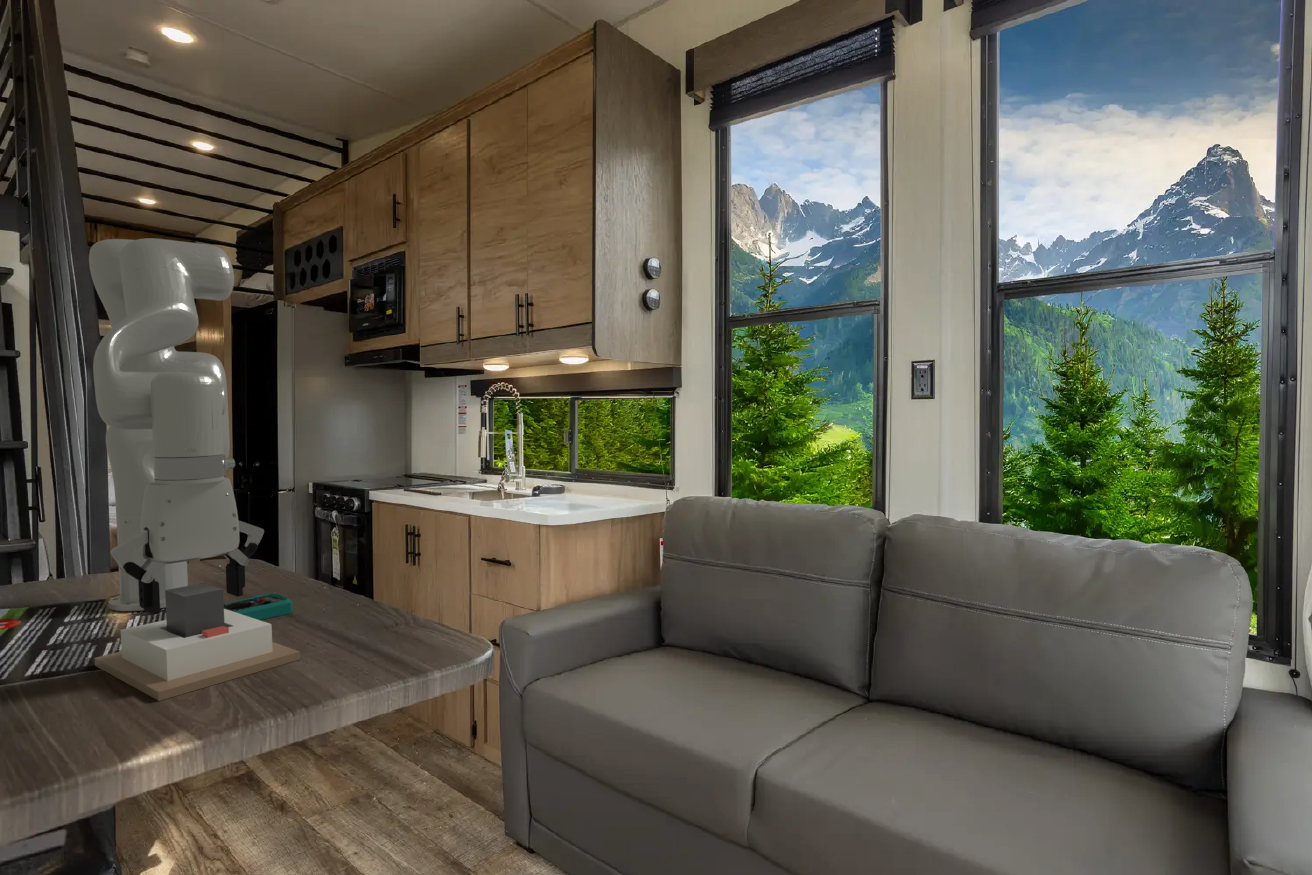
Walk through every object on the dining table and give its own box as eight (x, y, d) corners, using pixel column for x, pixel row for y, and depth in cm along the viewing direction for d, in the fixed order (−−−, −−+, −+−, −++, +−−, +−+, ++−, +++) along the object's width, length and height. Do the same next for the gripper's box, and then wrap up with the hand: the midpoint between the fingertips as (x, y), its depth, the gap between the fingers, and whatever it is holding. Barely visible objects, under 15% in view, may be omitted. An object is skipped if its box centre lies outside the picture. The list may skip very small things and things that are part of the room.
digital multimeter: (297, 615, 116) (296, 596, 116) (193, 639, 104) (192, 619, 104) (275, 608, 121) (274, 590, 120) (173, 630, 109) (172, 611, 109)
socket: (94, 665, 93) (92, 625, 92) (228, 632, 106) (226, 597, 105) (158, 700, 81) (156, 654, 81) (300, 659, 94) (298, 619, 94)
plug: (167, 653, 93) (165, 589, 93) (205, 644, 97) (202, 582, 96) (187, 662, 90) (184, 596, 89) (225, 652, 93) (223, 589, 93)
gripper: (246, 463, 102) (250, 584, 102) (96, 474, 88) (103, 614, 88) (273, 466, 97) (277, 592, 98) (120, 478, 83) (127, 625, 84)
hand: (195, 603), depth 93 cm, fingers open, 9 cm apart
